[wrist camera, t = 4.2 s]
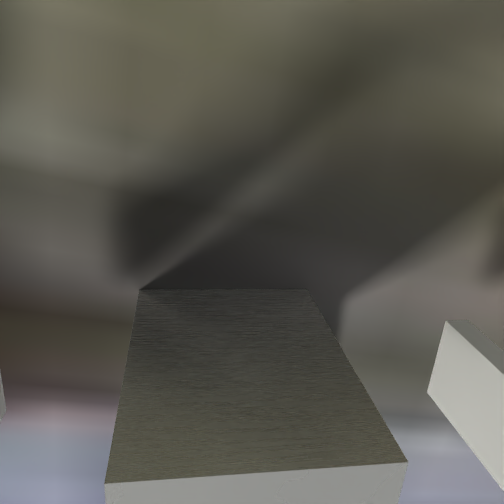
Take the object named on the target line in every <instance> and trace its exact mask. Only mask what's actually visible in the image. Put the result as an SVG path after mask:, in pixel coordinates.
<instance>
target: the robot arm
mask: <svg viewBox="0 0 504 504" xmlns="http://www.w3.org/2000/svg"><path fill="white" fill-rule="evenodd" d="M427 393H428V394H429V395H430V397H431V398H432V399H433V400H434V402H435V403H436V404H437V406H438V407H439V408H440V410H441V411H442V412H443V413H444V415H445V416H446V417H447V419H448V420H449V421H450V422H451V424H452V425H453V426H454V428H455V429H456V430H457V432H458V433H459V434H460V435H461V437H462V438H463V439H464V441H465V442H466V443H467V445H468V446H469V447H470V448H471V450H472V451H473V452H474V454H475V455H476V456H477V457H478V459H479V460H480V461H481V463H482V464H483V465H484V467H485V468H486V469H487V470H488V472H489V473H490V474H491V476H492V477H493V478H494V480H495V481H496V482H497V483H498V485H499V486H500V487H501V489H502V490H503V491H504V351H503V350H502V349H501V348H500V347H499V346H497V345H496V344H495V343H494V342H493V341H492V340H490V339H489V338H488V337H487V336H486V335H485V334H483V333H482V332H481V331H480V330H479V329H478V328H477V327H475V326H474V325H473V324H472V323H471V322H470V321H468V320H446V322H445V326H444V329H443V333H442V337H441V341H440V345H439V349H438V353H437V356H436V360H435V364H434V368H433V372H432V376H431V380H430V383H429V387H428V391H427ZM5 412H6V404H5V398H4V392H3V385H2V379H1V372H0V422H1V420H2V418H3V416H4V414H5Z"/></svg>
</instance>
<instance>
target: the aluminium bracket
mask: <svg viewBox="0 0 504 504" xmlns="http://www.w3.org/2000/svg"><path fill="white" fill-rule="evenodd" d="M407 466H408V461H407V459H406V457H405V456H404V454H403V452H402V451H401V449H400V447H399V445H398V444H397V442H396V440H395V439H394V437H393V435H392V434H391V432H390V430H389V428H388V427H387V425H386V423H385V422H384V420H383V418H382V416H381V415H380V413H379V411H378V410H377V408H376V406H375V405H374V403H373V401H372V399H371V398H370V396H369V394H368V393H367V391H366V389H365V387H364V386H363V384H362V382H361V381H360V379H359V377H358V376H357V374H356V372H355V370H354V369H353V367H352V365H351V364H350V362H349V360H348V358H347V357H346V355H345V353H344V352H343V350H342V348H341V346H340V345H339V343H338V341H337V340H336V338H335V336H334V335H333V333H332V331H331V329H330V328H329V326H328V324H327V323H326V321H325V319H324V317H323V316H322V314H321V312H320V311H319V309H318V307H317V306H316V304H315V302H314V300H313V299H312V297H311V295H310V294H309V292H308V290H307V289H194V290H139V294H138V300H137V305H136V311H135V316H134V322H133V327H132V333H131V339H130V344H129V350H128V355H127V361H126V366H125V372H124V378H123V383H122V389H121V394H120V400H119V405H118V411H117V417H116V422H115V428H114V433H113V439H112V444H111V450H110V456H109V461H108V467H107V472H106V478H105V483H104V485H105V501H106V504H398V500H399V496H400V493H401V489H402V485H403V481H404V477H405V473H406V469H407Z"/></svg>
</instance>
